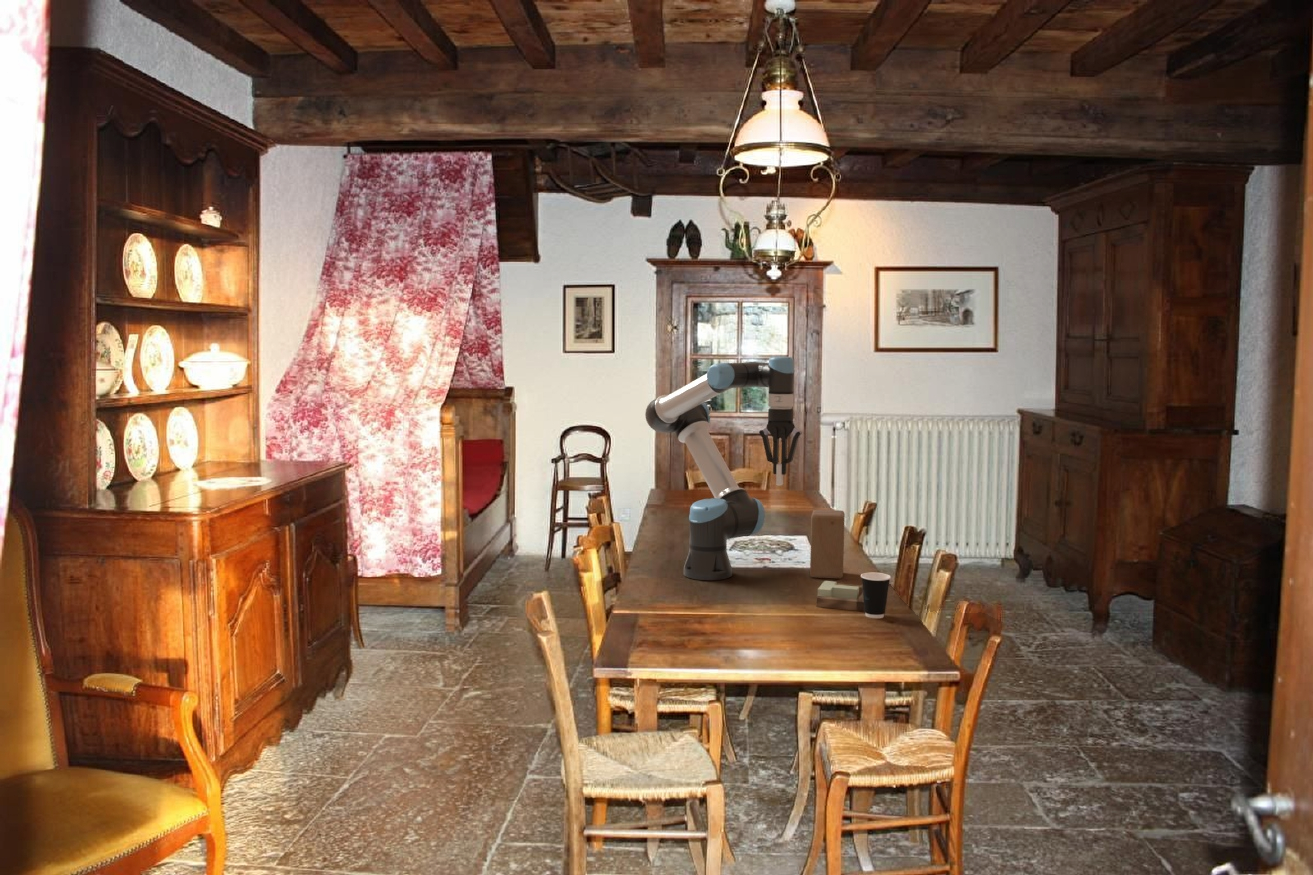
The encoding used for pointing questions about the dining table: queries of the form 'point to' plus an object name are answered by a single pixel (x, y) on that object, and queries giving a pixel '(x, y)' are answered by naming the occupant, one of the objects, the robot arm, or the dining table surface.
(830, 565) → the wooden block
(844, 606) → the brown stepped flat base
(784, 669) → the dining table surface
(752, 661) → the dining table surface
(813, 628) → the dining table surface
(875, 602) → the dixie cup
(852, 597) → the t block
